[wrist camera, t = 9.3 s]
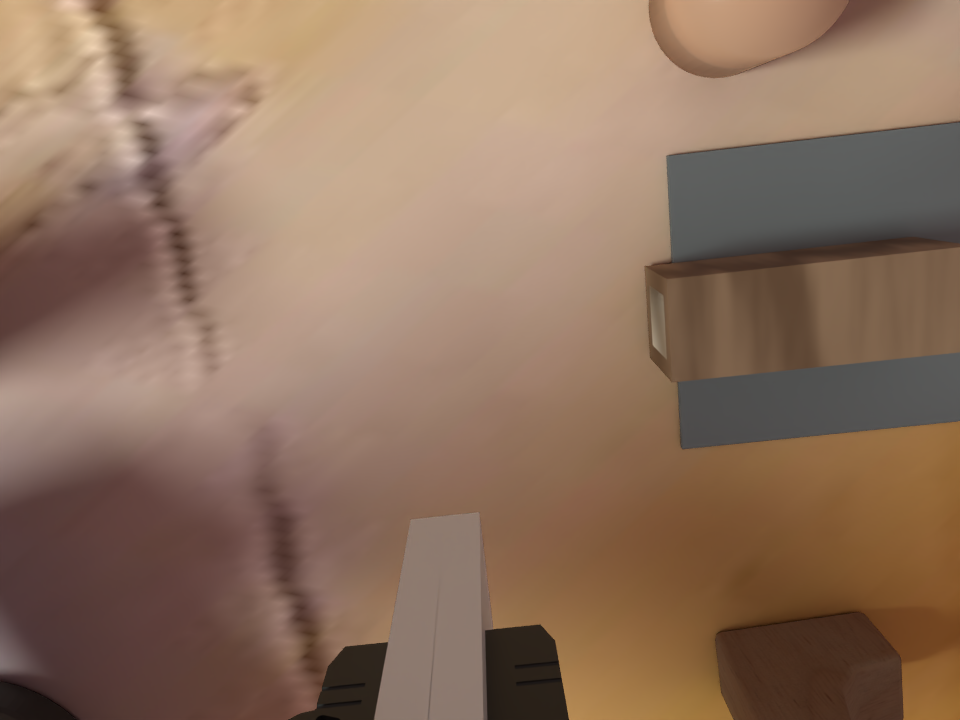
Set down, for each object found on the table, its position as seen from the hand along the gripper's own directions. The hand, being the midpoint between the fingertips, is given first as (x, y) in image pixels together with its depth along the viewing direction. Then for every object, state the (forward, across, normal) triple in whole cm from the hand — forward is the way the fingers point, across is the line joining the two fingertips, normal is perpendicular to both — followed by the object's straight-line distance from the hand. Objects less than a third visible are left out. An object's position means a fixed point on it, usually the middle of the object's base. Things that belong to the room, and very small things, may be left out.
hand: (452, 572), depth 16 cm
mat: (+25, +19, 0) cm, 32 cm away
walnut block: (+22, +10, 0) cm, 24 cm away
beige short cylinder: (+25, +14, +15) cm, 33 cm away
